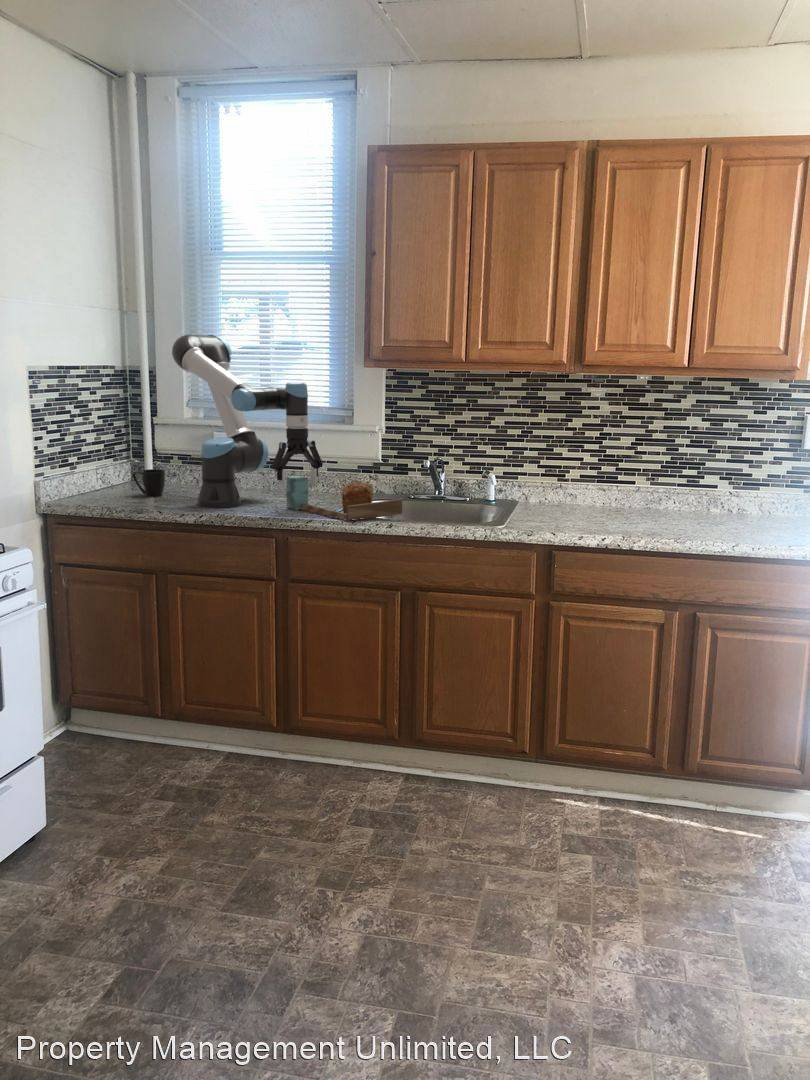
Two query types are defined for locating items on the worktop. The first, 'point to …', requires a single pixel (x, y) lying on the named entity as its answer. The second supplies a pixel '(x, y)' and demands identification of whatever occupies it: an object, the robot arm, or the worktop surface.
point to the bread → (356, 494)
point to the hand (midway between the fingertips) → (298, 488)
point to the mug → (152, 482)
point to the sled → (299, 500)
